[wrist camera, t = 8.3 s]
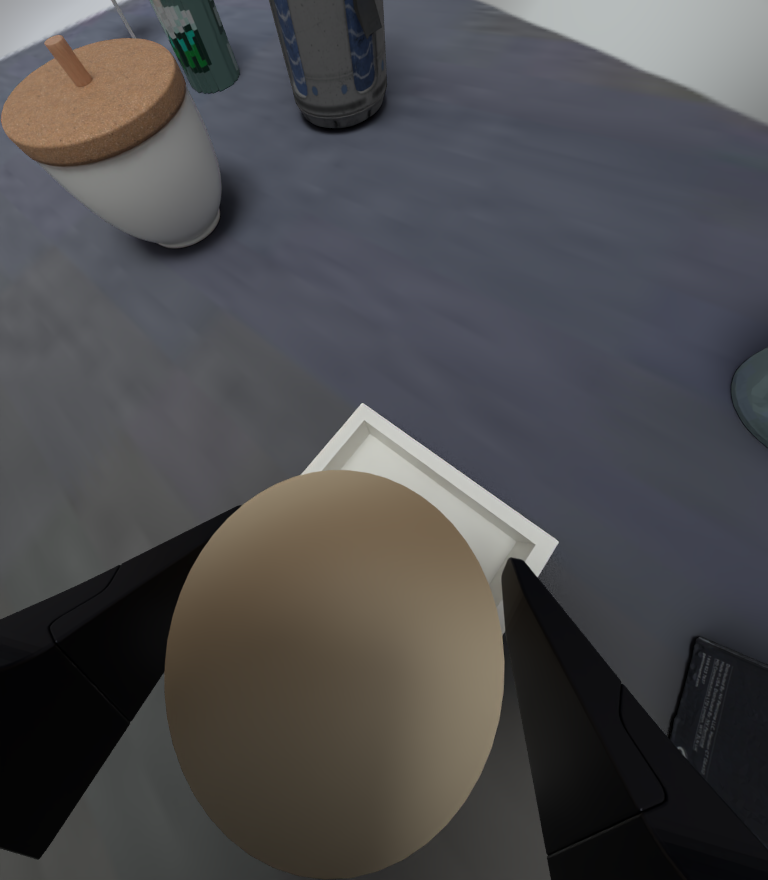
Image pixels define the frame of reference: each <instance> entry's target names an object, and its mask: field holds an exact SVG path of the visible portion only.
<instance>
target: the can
mask: <svg viewBox="0 0 768 880" xmlns="http://www.w3.org/2000/svg"><path fill="white" fill-rule="evenodd" d="M149 1H150V3H151V5H152V7H153V9H154V11H155V13H156V15H157V17H158V19H159V21H160V23H161V25H162V27H163V29H164V31H165V33H166V35H167V37H168V39H169V41H170V43H171V45H172V47H173V50H174V52H175V54H176V56H177V58H178V60H179V62H180V64H181V66H182V68H183V70H184V72H185V74H186V76H187V78H188V80H189V82H190V84H191V86H192V87H193V88H194V89H195V90H196V91H197V92H199V93H200V92H203V93H204V94H206V93H207V92H208V93H211V92H212V93H215V92H217V91H218V90H219V91H222V90H224V89H226V88H228V87H229V86H231V85H233V84H234V83H233V82H235V81H236V80H238V79H237V78H238V77H239V76H238V75H240V73H239V68H238V66H237V63H236V60H235V57H234V55H233V52H232V49H231V47H230V44H229V41H228V39H227V36H226V33H225V30H224V28H223V25H222V22H221V20H220V17H219V14H218V12H217V9H216V6H215V3H214V1H213V0H149Z"/></svg>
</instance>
